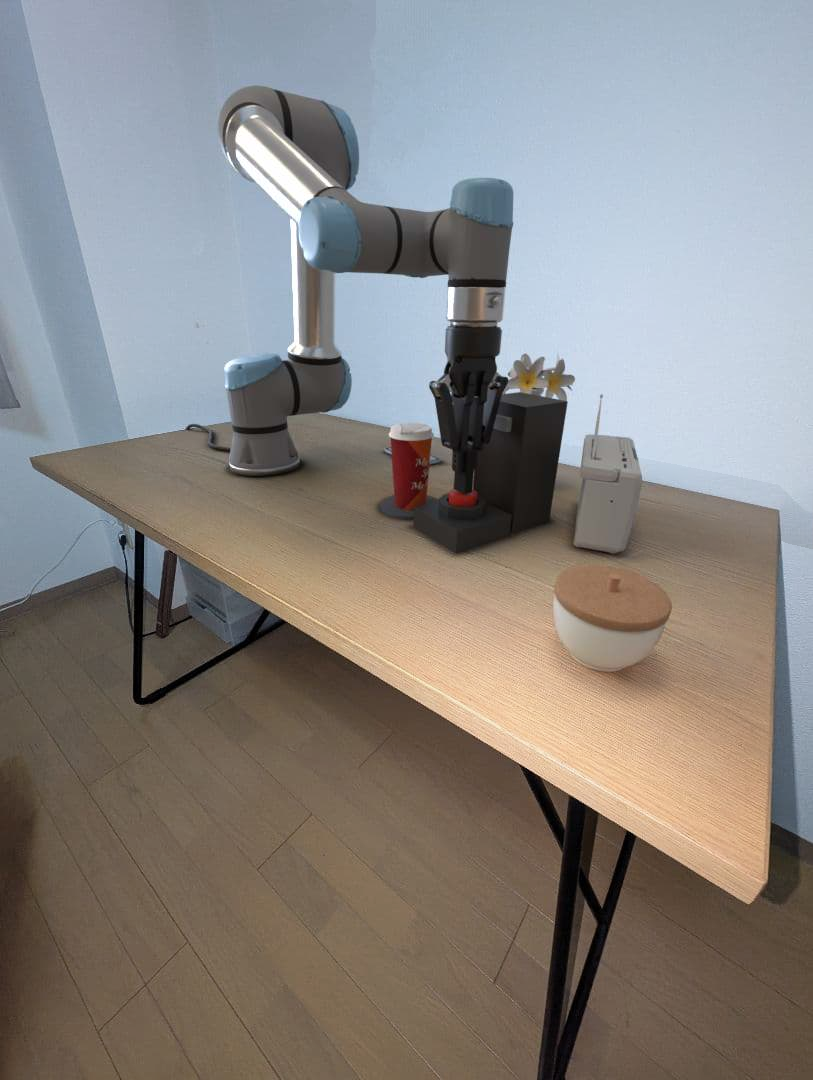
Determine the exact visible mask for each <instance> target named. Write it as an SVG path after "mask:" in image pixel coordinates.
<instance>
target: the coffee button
mask: <svg viewBox="0 0 813 1080" xmlns="http://www.w3.org/2000/svg"><path fill="white" fill-rule="evenodd" d="M448 493H449V503H450V504H452V505H457V506H472V505H476V504H477V492H476V491H475V490H473V489H472V492H471V493H467V494H463V493H461V492H459V491H457V490H455V489H454V488H452V489H450V490H449V492H448Z"/></svg>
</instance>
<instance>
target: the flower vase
mask: <svg viewBox="0 0 813 1080" xmlns="http://www.w3.org/2000/svg"><path fill="white" fill-rule="evenodd" d="M545 360H546V357H545V356H540V357H538V358H537V359H535V361H533V363H532V360H531V357H530V355H529V354H528V353H523V354H522V355H521V356H520V359H516V360H514V361H513V365H512V367H511V368H510V370H509V371H508V372H507V376H508V384H507V386H506V388H505V389H504V391H503V393H502V394H507V393H506V392H508V391H509V390H516V389H519V392H522V393H527V394H532V395H538V396H543V394H544V392H545V394H544V397H548V398H553V397H554V395H555V396H556V398H557V399H559V400H564V401H568V395H567V392H566V390H565V389H564V388H567V389H569V391H571V392H572V391H573V388H571V386H574V383H575V381H576V377H575V376H574V375H573V374H565V371H566V363H565V359H564V358H563V357H562V358H560V356H559V353H558V352H557V354H556V363H555V367H548V368H545V369H544V363H545ZM545 388H546V389H545Z"/></svg>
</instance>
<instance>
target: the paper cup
mask: <svg viewBox="0 0 813 1080" xmlns="http://www.w3.org/2000/svg"><path fill="white" fill-rule="evenodd" d="M434 436H435V434H434V432H433V429H432V426H430V425H428V424H425V423H420V422H419V423H418V422H402V423H395V424H393V425H392V426H391V427H390V431H389V432H388V437H389V438H390V447H391V453H392V455H391V466H392V468H391V469H392V480H393V481H392V483H393V495H394V497H395V505H396V507H398V508H400V509H403V510H414V507H416V506H420V505H424V504H426V498H427V496H428V486H429V477H430V465H431V464H430V454H431V455H432V442H433V438H434Z"/></svg>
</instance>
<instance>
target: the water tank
mask: <svg viewBox="0 0 813 1080" xmlns="http://www.w3.org/2000/svg"><path fill="white" fill-rule="evenodd" d="M568 403H569V402H568V400H567V401H564V400H559V399H558V398H553V397H552V398H548V397H545V396H543V395H541V396H538V395H532V394H527V393H522V392H520V391H517V392H510V393H509V392H507V393H505V394H502V396H501V400H500V404H499V408H498V411H497V415H496V419H495V423H494V427H493V430H492V434H491V438H490V441H489V443H488V444H485V443H484V444H483V445H481V446H484V449H483V450H482V451H478V457H477V467H476V469H474V474H473V487H472V490H475V491H476V492H477V495H479V496H482V497H484V498H485V500H486V502H487V504H489V505H491V506H494V507H496V508H498V509H500V510H502V511H504V512H507V513H509V514H511V515H512V517H511V525H510V534H514V533H517V532H520V531H523V530H526V529H529V528H532V527H535V526H538V525H541V524H544V523H547V522H550V519H551V513H552V505H553V498H554V493H555V485H556V480H557V473H558V467H559V462H560V461H559V460H560V454H561V448H562V441H563V436H564V428H565V424H566V423H565V422H566V416H567V409H568ZM483 434H484V433H483Z"/></svg>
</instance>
